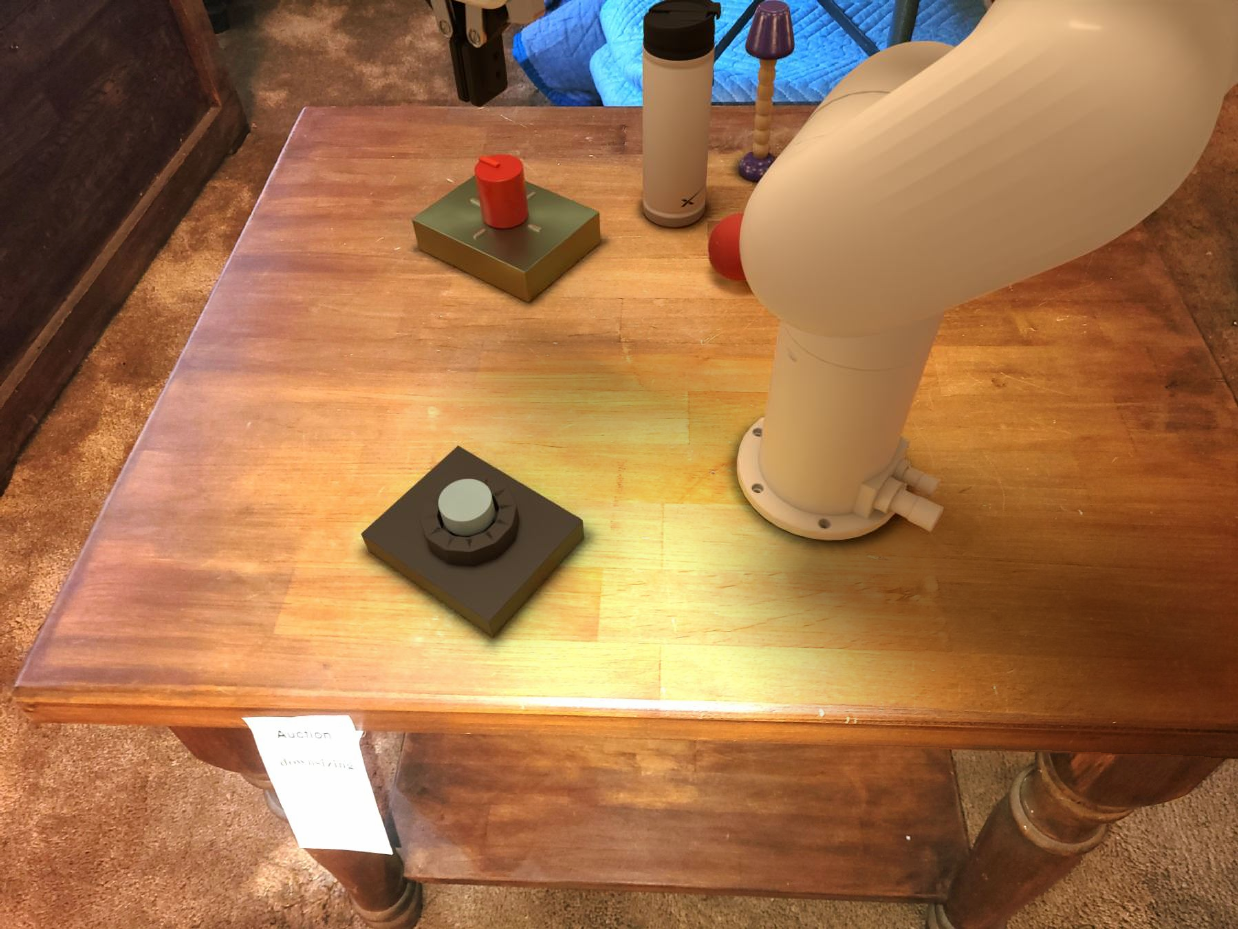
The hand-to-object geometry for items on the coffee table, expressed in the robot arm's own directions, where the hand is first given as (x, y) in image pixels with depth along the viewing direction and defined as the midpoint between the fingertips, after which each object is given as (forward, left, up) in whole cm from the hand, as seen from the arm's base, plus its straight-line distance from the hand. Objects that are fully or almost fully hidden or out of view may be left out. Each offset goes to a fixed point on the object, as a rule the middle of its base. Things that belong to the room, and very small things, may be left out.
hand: (483, 94), depth 58 cm
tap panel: (+11, -11, -23) cm, 28 cm away
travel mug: (+1, -25, -24) cm, 34 cm away
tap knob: (+11, -11, -20) cm, 25 cm away
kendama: (-14, -24, -24) cm, 36 cm away
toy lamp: (-2, -36, -24) cm, 43 cm away
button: (-10, +17, -20) cm, 28 cm away
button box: (-10, +17, -23) cm, 31 cm away
